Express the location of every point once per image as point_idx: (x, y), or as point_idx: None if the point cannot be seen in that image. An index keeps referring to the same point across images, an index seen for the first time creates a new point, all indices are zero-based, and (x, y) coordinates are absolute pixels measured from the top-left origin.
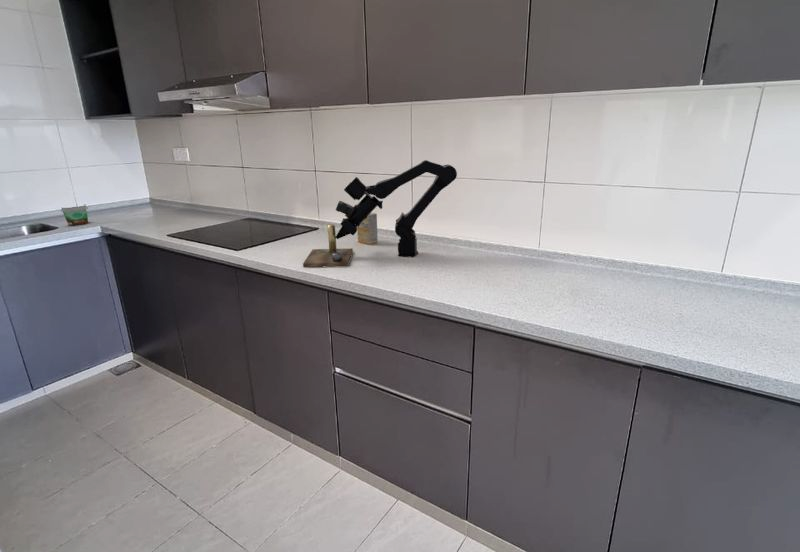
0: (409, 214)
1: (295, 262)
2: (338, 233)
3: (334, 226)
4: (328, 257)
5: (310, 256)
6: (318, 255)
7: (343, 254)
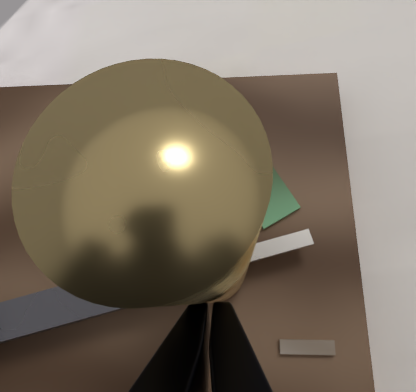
0: None
1: (105, 36)
2: (139, 382)
3: (98, 298)
4: None
5: None
6: None
7: None
